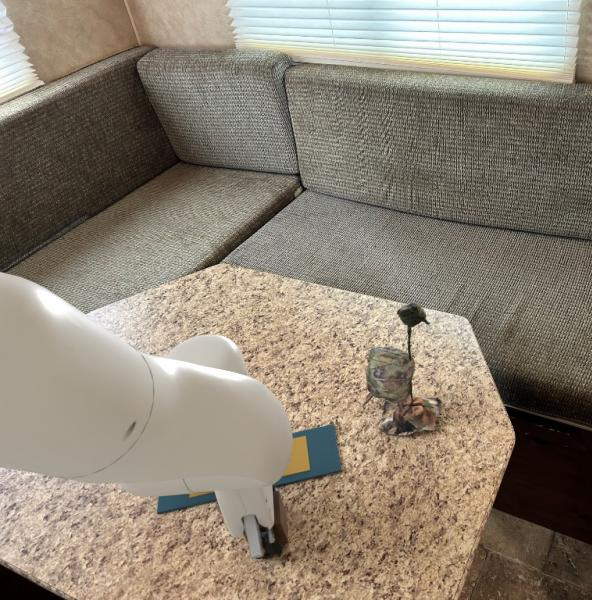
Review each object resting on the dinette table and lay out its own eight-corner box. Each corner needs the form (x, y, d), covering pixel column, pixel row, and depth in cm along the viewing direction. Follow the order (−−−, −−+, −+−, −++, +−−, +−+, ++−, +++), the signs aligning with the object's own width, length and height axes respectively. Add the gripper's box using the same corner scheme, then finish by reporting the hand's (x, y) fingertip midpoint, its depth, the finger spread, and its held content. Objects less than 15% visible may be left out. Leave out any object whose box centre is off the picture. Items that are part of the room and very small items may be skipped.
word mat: (342, 471, 81) (341, 469, 80) (157, 514, 78) (156, 512, 77) (334, 425, 87) (333, 423, 86) (162, 463, 84) (161, 461, 83)
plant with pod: (376, 387, 92) (360, 284, 79) (449, 402, 88) (445, 296, 75) (356, 429, 86) (336, 325, 73) (433, 446, 83) (426, 341, 70)
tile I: (288, 543, 73) (280, 522, 70) (251, 552, 73) (241, 531, 70) (286, 510, 77) (278, 489, 74) (250, 518, 76) (241, 497, 73)
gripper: (198, 386, 69) (237, 477, 81) (191, 521, 56) (238, 606, 68) (263, 372, 70) (293, 464, 82) (272, 502, 57) (305, 589, 68)
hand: (268, 528), depth 74 cm, fingers open, 5 cm apart
